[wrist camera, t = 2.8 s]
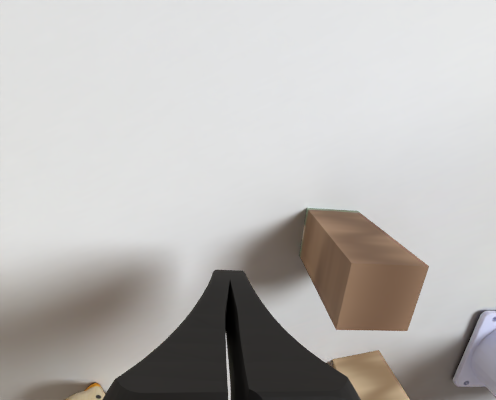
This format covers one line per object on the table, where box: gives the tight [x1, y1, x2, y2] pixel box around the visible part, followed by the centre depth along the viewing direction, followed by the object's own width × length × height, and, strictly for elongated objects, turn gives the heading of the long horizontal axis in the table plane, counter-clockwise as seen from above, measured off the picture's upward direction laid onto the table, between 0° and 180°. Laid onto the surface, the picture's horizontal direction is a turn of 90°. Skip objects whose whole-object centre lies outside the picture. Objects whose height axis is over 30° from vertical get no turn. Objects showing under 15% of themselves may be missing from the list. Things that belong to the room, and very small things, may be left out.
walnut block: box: [299, 208, 429, 331], centre depth 16 cm, size 4×4×7 cm
